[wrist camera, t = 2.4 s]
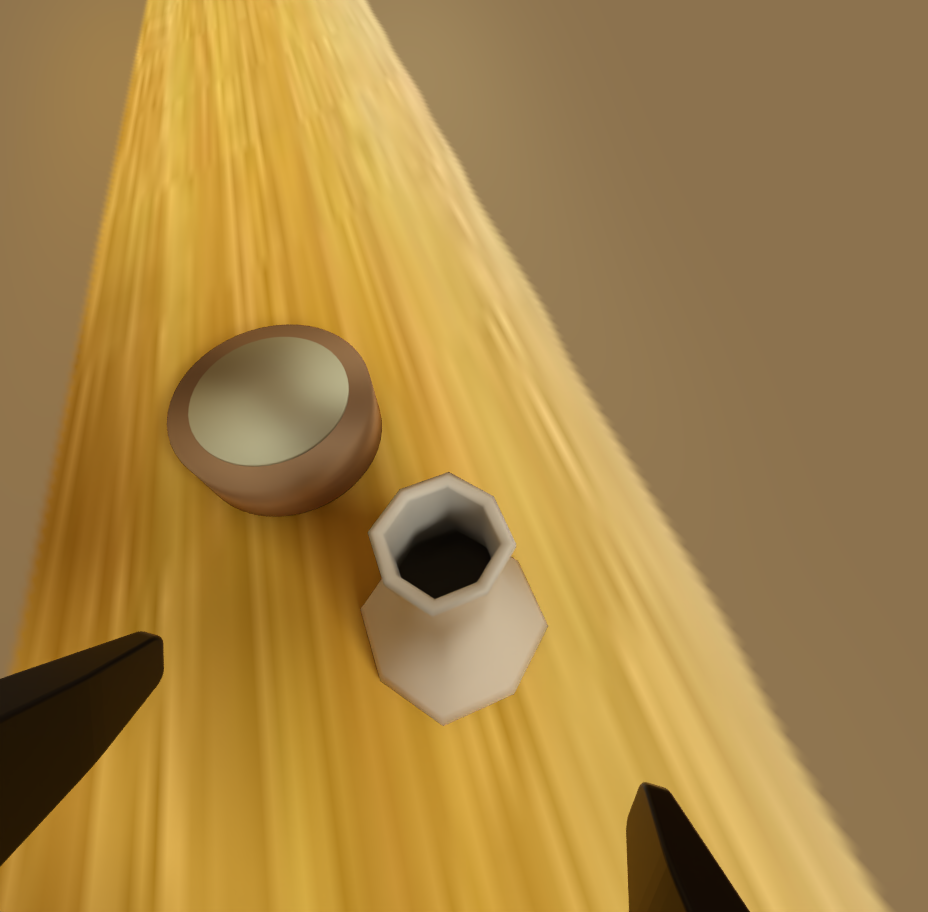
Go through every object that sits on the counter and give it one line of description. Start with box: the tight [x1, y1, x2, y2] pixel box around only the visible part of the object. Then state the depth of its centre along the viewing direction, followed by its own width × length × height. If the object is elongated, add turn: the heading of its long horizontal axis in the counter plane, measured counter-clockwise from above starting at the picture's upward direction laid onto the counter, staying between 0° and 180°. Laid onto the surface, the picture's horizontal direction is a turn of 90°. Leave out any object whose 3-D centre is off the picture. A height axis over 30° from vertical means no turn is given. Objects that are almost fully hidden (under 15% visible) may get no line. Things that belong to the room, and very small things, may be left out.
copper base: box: [167, 325, 382, 516], centre depth 22 cm, size 9×9×3 cm
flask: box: [361, 472, 548, 726], centre depth 15 cm, size 7×7×10 cm
